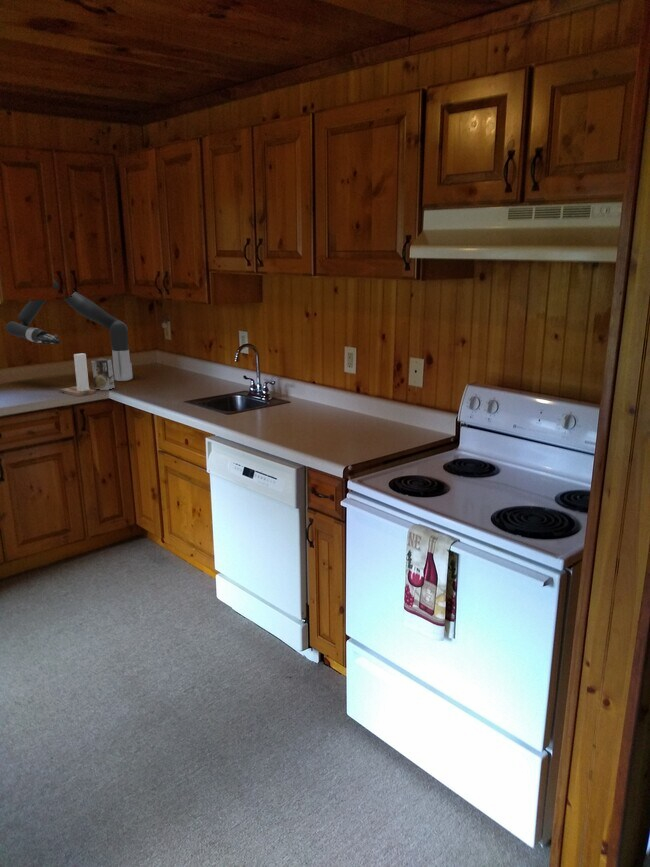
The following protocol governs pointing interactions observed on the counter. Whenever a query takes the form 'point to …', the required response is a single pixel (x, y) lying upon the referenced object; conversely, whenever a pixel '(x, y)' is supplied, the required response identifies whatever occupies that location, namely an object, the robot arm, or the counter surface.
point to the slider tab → (81, 372)
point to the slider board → (77, 393)
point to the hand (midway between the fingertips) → (59, 342)
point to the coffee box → (103, 374)
